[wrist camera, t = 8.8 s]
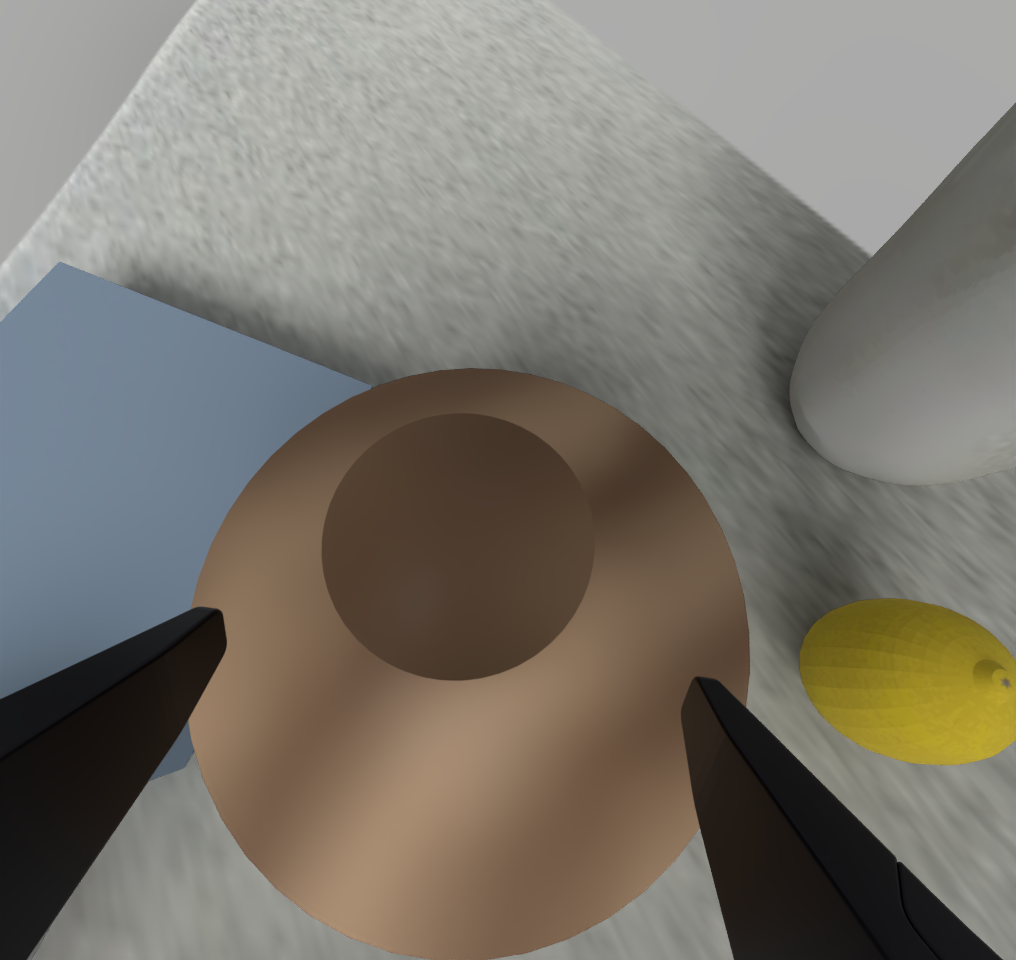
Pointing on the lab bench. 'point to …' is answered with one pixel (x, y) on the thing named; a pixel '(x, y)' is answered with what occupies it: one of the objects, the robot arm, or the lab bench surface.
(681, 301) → the lab bench surface
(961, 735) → the lemon
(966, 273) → the glass bottle
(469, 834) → the lid
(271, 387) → the mat
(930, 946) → the robot arm
